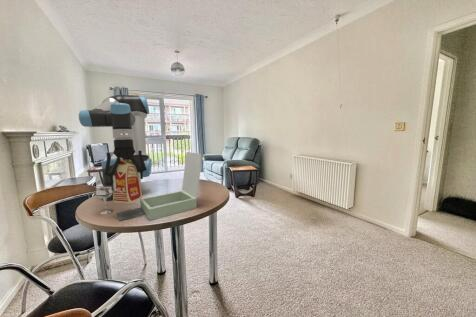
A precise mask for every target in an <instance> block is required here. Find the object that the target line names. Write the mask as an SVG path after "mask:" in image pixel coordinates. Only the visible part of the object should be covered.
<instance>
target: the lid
mask: <svg viewBox="0 0 476 317" xmlns="http://www.w3.org/2000/svg"><path fill="white" fill-rule="evenodd" d="M185 152H186V153H185V162H184V169H183V178H182V179H183V180H182V187H181V191H184V192H185V193H187V194H189V195H191V196H193V197H194V198H196V199H198V194H199V186H200V176H201V168H202V159H203V158H205V156H204V154H203V153H202V154H201V153H195V152H192V151H191V152H189V151H185Z"/></svg>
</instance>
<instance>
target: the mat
mask: <svg viewBox="0 0 476 317" xmlns="http://www.w3.org/2000/svg"><path fill="white" fill-rule="evenodd" d="M143 216H145V213H144V212H143V211H142V210H141V207H137V208H133V209H128V210H123V211H119V212H116V217H117V218H118V220H119V222H122V221H126V220H130V219H133V218H137V217H143Z"/></svg>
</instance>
